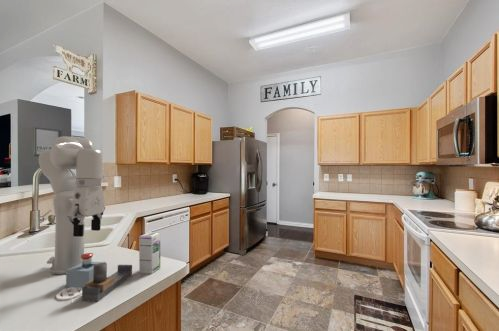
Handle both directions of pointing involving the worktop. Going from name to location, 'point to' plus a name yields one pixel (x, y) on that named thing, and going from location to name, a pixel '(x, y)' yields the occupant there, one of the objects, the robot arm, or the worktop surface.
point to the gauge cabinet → (79, 275)
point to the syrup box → (149, 252)
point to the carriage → (100, 277)
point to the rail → (119, 277)
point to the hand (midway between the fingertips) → (87, 232)
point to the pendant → (66, 295)
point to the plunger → (86, 259)
